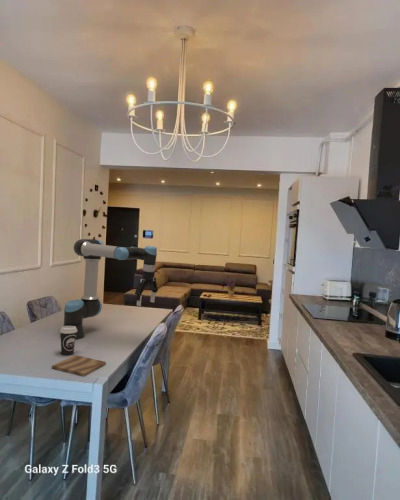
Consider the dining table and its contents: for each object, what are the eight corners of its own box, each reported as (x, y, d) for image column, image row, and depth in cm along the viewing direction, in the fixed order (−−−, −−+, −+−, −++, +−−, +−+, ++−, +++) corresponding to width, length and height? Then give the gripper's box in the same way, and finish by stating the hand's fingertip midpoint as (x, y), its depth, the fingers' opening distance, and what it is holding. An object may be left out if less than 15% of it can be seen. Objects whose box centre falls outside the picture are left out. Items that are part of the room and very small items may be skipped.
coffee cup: (78, 351, 206) (79, 325, 205) (73, 356, 196) (74, 330, 195) (61, 350, 205) (63, 324, 205) (55, 355, 196) (57, 329, 195)
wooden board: (51, 368, 178) (51, 365, 178) (75, 357, 195) (75, 355, 195) (83, 376, 171) (84, 373, 171) (105, 364, 188) (105, 361, 188)
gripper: (140, 273, 207) (137, 308, 209) (165, 270, 229) (162, 301, 231) (131, 271, 211) (127, 305, 213) (156, 268, 232) (153, 299, 235)
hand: (145, 303), depth 222 cm, fingers open, 13 cm apart
